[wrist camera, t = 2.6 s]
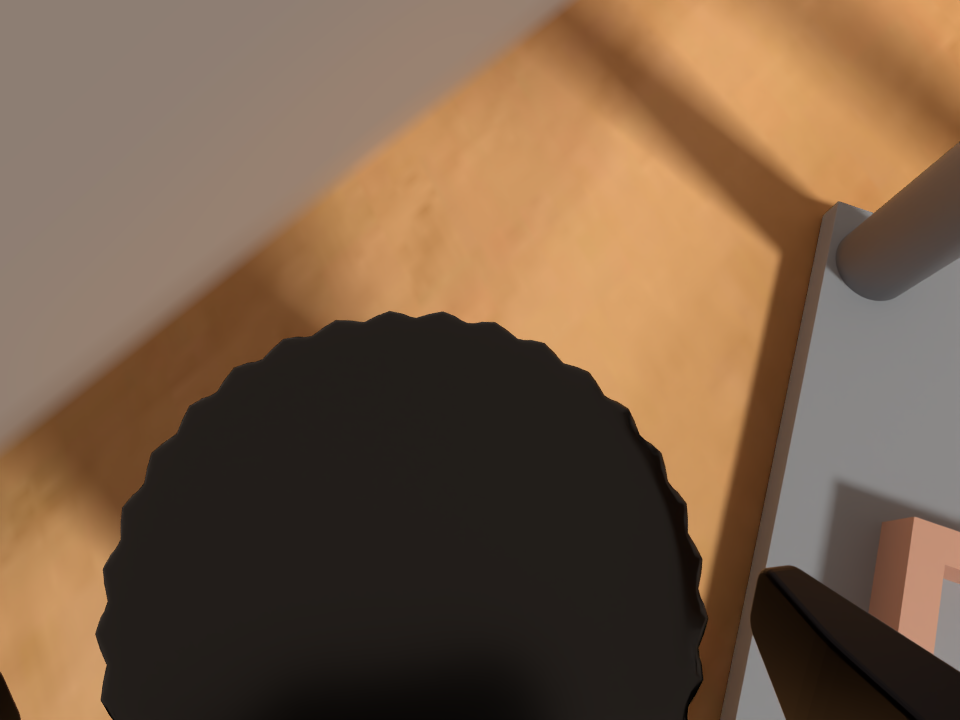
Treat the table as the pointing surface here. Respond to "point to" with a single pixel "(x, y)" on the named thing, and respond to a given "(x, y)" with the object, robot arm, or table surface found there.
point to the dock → (871, 429)
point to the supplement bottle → (404, 543)
